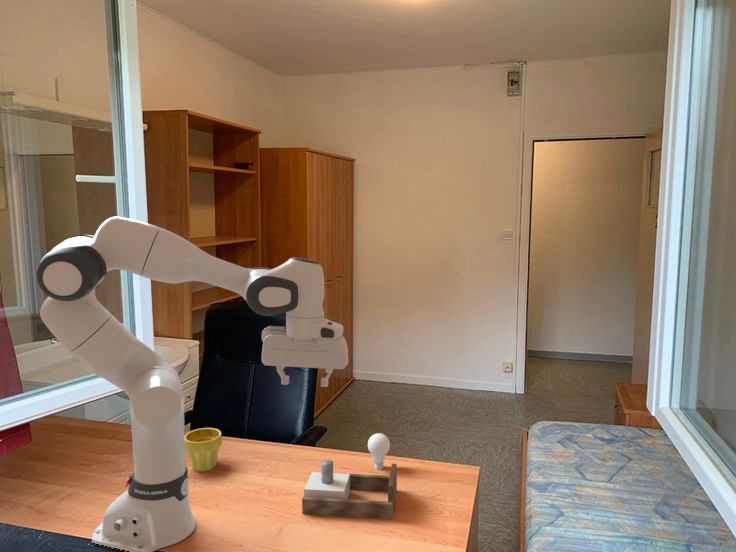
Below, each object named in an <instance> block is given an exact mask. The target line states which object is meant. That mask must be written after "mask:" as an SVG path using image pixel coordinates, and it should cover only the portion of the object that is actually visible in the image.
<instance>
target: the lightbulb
mask: <svg viewBox="0 0 736 552" xmlns="http://www.w3.org/2000/svg"><path fill="white" fill-rule="evenodd" d="M390 447H391V442H390V439H389V438H388V436H386V434H384V433H380V432H378V433H374V434H372V435H371V436H370V437H369V438H368V441H367V449H368V452H369V453H370V454H371V456H372V460H373V467H374V470H377V471H380V470H383V469H384V461H385V457H386V455H388V452H389V451H390V449H391V448H390Z"/></svg>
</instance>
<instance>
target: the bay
mask: <svg viewBox="0 0 736 552" xmlns="http://www.w3.org/2000/svg"><path fill="white" fill-rule="evenodd" d="M397 466H398V465H397V463H391V468H390V472H389V473H390V474H389V475H380V474H379V475H378V474H363V473H361V474H360V473H349V474H350V491H365V492H383V493H384V492H386V493H387V501H382V500H381V501H380V500H367V499H350V498H348V499H336V498H319V497H304V496H302V498H301V504H302V505H301V507H302V508H301V510H302V511H301V512H302V515H313V516H325V517H326V516H327V517H341V518H358V519H359V518H360V519H361V518H362V519H373V520H374V519H375V520H376V519H377V520H378V519H379V520H391V521H392V520H393V519H394V514H395V513H394V512H395V506H396V499H397V491H398V476H397V469H398V468H397ZM340 473H341V472H340ZM341 474H347V473H346V472H345V473H343V472H342V473H341Z"/></svg>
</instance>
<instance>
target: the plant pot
mask: <svg viewBox="0 0 736 552" xmlns="http://www.w3.org/2000/svg"><path fill="white" fill-rule="evenodd" d="M222 438H223V437H222V432H221V430H219V429H218V428H213V427H202V428H197V429H193V430H191V431H189V432H187V433H186V434H184V445H185V451H187V453H188V456H189V459H190V463H191V466H192V469H193V471H196V472H207V471H210V470H213V469H214V468H215V467H216V466H217V461H218V456H219V451H220V447H221V446H222V442H223V441H222Z"/></svg>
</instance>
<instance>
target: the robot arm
mask: <svg viewBox="0 0 736 552" xmlns="http://www.w3.org/2000/svg"><path fill="white" fill-rule="evenodd" d="M114 270H117V271H118V270H120V271H125V272H129V273H131V274H135V275H137V276H139V277H142V278H146V279H149V280H152V281H155V282H162V283H167V284H172V285H173V284H174V285H175V284H181V283H186V282H201V283H206V284H209V285H212V286H216V287H219V288H222V289H225V290H228V291H231V292H234V293H236V294H238V295H239V296H241V297H242V298H243V300H245V301H246V303H247V305H248V307H249V308H250V310H252V311H253V312H254V313H255V314H257V315H260V316H265V317H270V316H275V315H281V314H284V313H285V325H284V326H282V325H278V326H275V325H268V326H267V327H265V328H264V329H263V330H262V331H261V341H262V343H263V344H262V349H261V362H262V364H263V365H264V366H270V367H276V372H277V373H278V375H279V377H280V380H281V381H280V383H281V385H286V386H287V385H289V383H290V375H286V373H285V371H284V369H285V367H290V368H305V369H306V368H308V369H309V368H310V369H313V368H314V369H325V373H326V376H325V377H324V376H323V377H321V378H320V387H325V388H328V387H329V378H330V376H331V375H332V373H333V371H334V370H344V369H345V368H346V367H347V366H348V364H349V348H348V343H347V340H346V338H345V336H344V335H343V333H344V326H343V325H342V324H341V323H338V322H335V321H332V320H330V319H327V318H325V310H324V307H323V306H324V305H323V304H324V299H325V277H324V276H325V275H324V270H323V267H322V265H321V264H320V263H319V262H317V260H316V261H315V260H314V259H310V258H305V257H298V256H295V257H294V256H293V257H290V258H289V259H288V260H286V261H285V262H284V263H282V264H280V265H279V266H277V267H274V268H269V267H264V266H263V267H262V266H261V267H260V266H259V267H245V266H241V265H238V264H236V263H233V262H230V261H227V260H224V259H222V258H218V257H216V256H214V255H211V254H209V253H208V252H206V251H204V250H202V249H201V248H200V247H199V246H197V245H195V244H194V243H192V242H191V241H189V240H187V239H185V238H184V237H182V236H180V235H178V234H176V233H174V232H172V231H170V230H167V229H165V228H162V227H160V226H156V225H154V224H151V223H147V222H143V221H140V220H137V219H132V218H127V217H121V216H112V217H109V218H107V219H106V220H105V221H103V222H102V223H101V224H100V226H99V227H98V229H97V230H96V232H95V234H94V235H90V234H77V235H74V236H70V237H68V238H67V239H65V240H63V241H61V242H59V243H58V244H56V245H55V246H54V247H53V248H52V249H51V250H50V251H49V252H47V253H46V254H45V255H44V256H43V257H42V258H41V259H40V262H39V264H38V266H37V269H36V281H37V284H38V286H39V288H40V289H41V290H42V292H43V293H44V294H45V295H47V297H46V298H45V300H44V302H43V303H42V305H41V308H40V311H39V312H40V313H39V316H40V319H41V320H42V322H43V323H44V325H45V327H46V328H47V329H48V330H49V331H50V332H51V334H52V336H54V337H55V338H56V339H57V341H58V342H59V343H60V344H61V345H62V346H63V347H64V348H66V349H67V351H69V353H71V354H72V355H73V356H75V358H76V359H77V360H79V361H80V362H81V363H82V364H83V365H85V366H86V367H87V368H88V369H89V370H90V371H91V372H92V373H94V374H95V375H96V376H97V377H99V378H101V379H103V380H105V381H107V382H109V383H110V384H112V385H114V386H116V387H117V388H118V389H120V390H121V391H123V392H124V393H125V394H126V395H127V396H128V398H129V402H128V403H129V414H130V415H129V417H130V427H131V429H130V430H131V438H132V439H131V440H132V454H133V455H132V456H133V468H134V469H133V471H134V473H132V474H130V475H129V477H128V479H127V480H126V481H124V483H123V484H124V486H123V488H124V489H125V488H126V487H128V489H127V490H125V491H123V493H121V494H120V495H119V496H118V497H117V498H115V499H114V500H113V501H112V502H111V503H110V504H109V505H108V507H107V509H106V510H105V512H104V515H103V518H102V522H101V523H100V524H99V525H98V526H97V527H96V528H95V530H94V532H93V534H92V536H91V543H92V544H93V543H95V544H94V545H96V544H99V545H98V546H101V545H104V546H103V547H105V546H108V547H107V548H109V547H111V548H110V549H114V548H117V549H116V550H118V549H120V550H119V551H122V550H125V551H124V552H127V551H129V552H155V551H157V550H160V549H163V548H166V547H170V546H172V545H176V544H177V543H180V542H181V541H184V540H185V539H186V538H188V537H189V536H191V534H192V533H193V532H194V530H195V528H196V526H197V525H196V520H195V518H194V514H193V512H192V509H191V503H190V499H189V487H190V485H189V483H190V482H189V470H188V467H187V466H186V449H185V444H184V437H185V396H184V395H185V394H184V390H183V386H182V383H181V380H180V375H179V373H178V371H177V370H176V369H175V368H174V367H173V366H172V365H171V364H170V363H169V362H167V361H166V360H165V359H164V358H163V357H162V356H160V355H159V354H158V353H157V352H155V351H154V350H152V348H150V347H149V346H148V345H147V344H145V343H144V342H143V341H141V340H140V339H138V338H137V337H136V336H135V335H134V334H133V333H132V332H131V331H130V330H129V329H128V328H126V327H125V325H124V324H123V323H122V322H120V321H119V320H118V319H117V318H116V317H115V316H114V315H113V314H112V313H111V312H110V311H108V309H107V308H105V307H104V306H103V305H102V304H101V302H99V300H98V298H97V296H96V289H98V288H99V286H100V284H101V283H102V281H103V280H104V278H105V277H106V275H107V274H108V272H110V271H114Z"/></svg>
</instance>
